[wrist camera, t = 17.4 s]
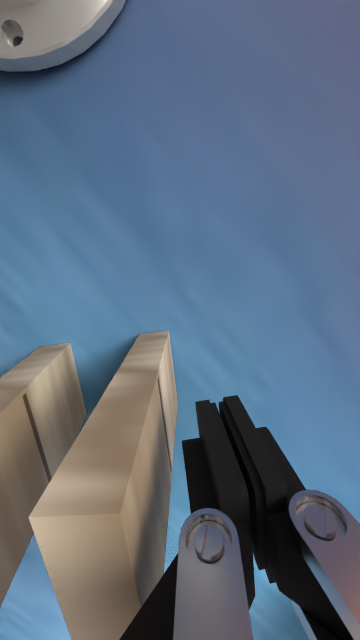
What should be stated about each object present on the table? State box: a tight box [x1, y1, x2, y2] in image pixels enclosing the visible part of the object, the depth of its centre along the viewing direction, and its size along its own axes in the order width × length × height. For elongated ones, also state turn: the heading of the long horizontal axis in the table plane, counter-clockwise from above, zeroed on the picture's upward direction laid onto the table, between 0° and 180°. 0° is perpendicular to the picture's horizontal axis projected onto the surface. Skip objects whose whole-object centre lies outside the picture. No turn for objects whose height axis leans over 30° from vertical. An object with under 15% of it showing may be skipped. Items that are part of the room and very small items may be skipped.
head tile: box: [28, 331, 178, 640], centre depth 11 cm, size 2×5×11 cm, turn 6°
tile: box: [0, 343, 87, 607], centre depth 11 cm, size 2×5×11 cm, turn 6°
